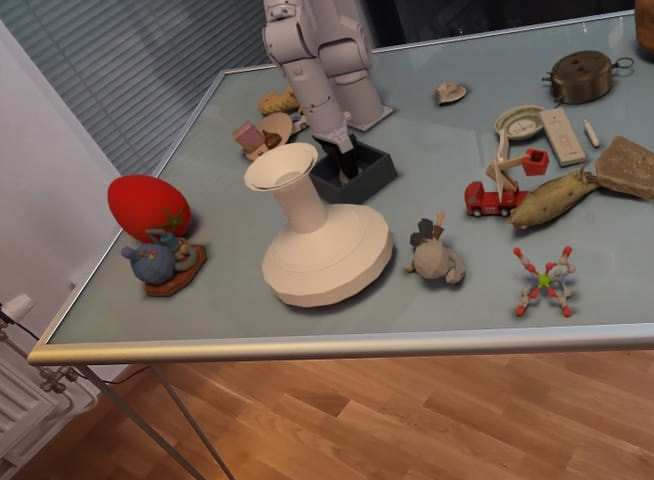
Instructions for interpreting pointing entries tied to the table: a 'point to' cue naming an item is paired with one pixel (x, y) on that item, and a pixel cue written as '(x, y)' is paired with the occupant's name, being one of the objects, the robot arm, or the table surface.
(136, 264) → the model
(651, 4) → the bread
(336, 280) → the white vase
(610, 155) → the decorative stone
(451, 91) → the fossil
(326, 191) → the bin
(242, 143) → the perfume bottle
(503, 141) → the knife
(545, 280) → the molecular model
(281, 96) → the toy
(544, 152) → the toy fire truck
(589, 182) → the root vegetable
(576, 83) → the alarm clock
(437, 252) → the toy
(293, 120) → the toy car
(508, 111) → the saucer
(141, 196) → the tomato
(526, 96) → the table surface
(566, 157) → the pregnancy test
